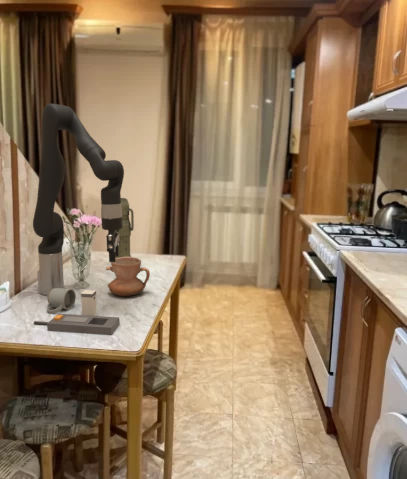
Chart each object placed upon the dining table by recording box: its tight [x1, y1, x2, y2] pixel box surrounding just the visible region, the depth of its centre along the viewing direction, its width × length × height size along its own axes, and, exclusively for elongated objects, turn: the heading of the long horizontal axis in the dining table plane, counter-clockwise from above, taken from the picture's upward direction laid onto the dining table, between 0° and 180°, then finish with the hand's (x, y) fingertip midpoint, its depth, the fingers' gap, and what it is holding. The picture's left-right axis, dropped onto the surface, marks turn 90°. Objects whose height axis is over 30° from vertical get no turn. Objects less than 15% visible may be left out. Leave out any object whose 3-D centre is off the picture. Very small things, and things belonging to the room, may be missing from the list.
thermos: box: [115, 197, 135, 258], centre depth 221 cm, size 9×12×35 cm
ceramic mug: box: [46, 288, 77, 314], centre depth 173 cm, size 11×8×8 cm
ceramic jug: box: [105, 256, 151, 297], centre depth 191 cm, size 18×14×14 cm
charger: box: [80, 289, 98, 316], centre depth 167 cm, size 4×4×9 cm
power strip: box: [33, 313, 121, 336], centre depth 158 cm, size 29×9×3 cm, turn 83°
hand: (114, 259), depth 172 cm, fingers open, 8 cm apart
